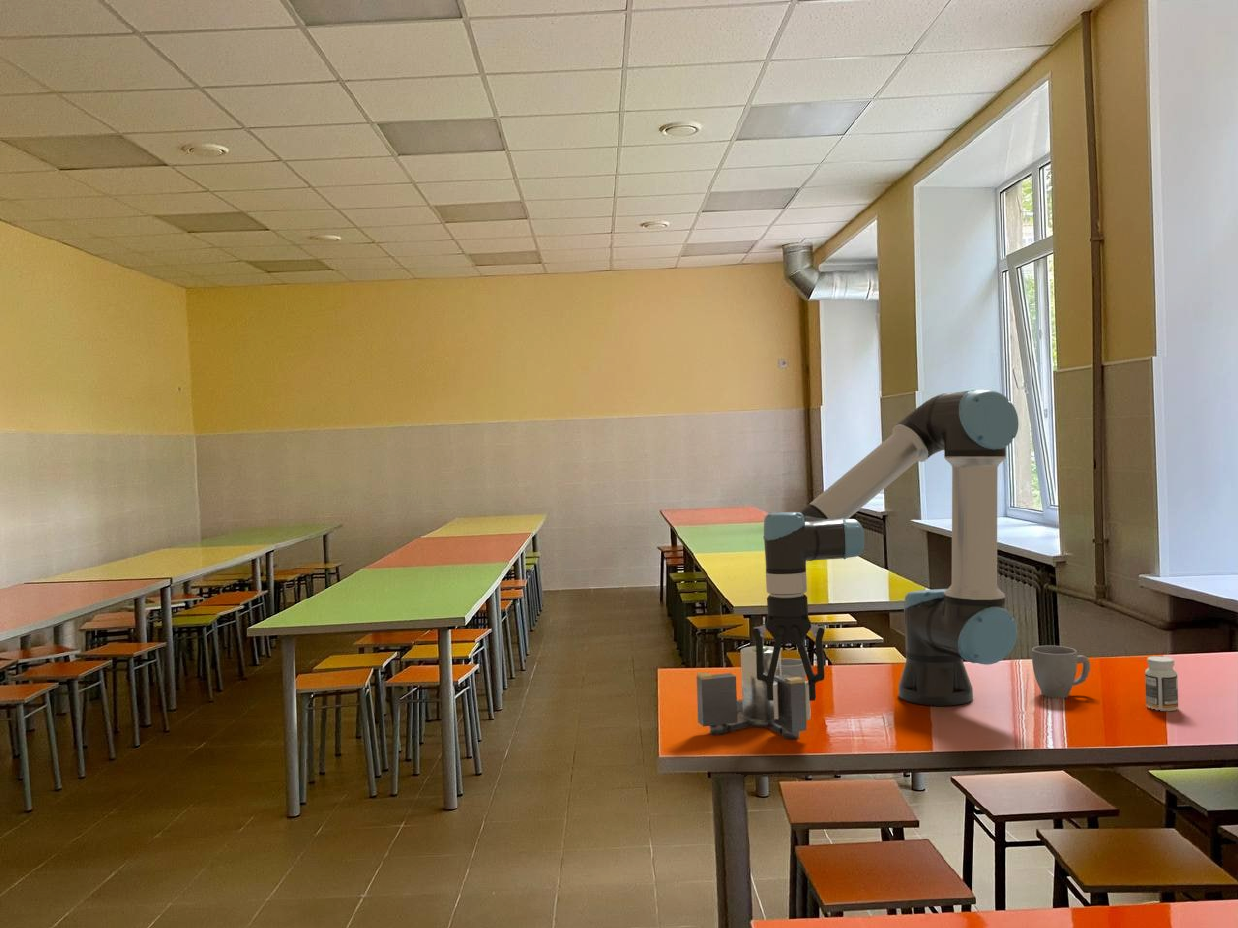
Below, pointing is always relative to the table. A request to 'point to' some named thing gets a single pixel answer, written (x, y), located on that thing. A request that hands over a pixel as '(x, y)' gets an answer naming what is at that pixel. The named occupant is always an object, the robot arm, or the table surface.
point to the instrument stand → (755, 693)
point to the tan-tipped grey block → (716, 701)
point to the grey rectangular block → (791, 705)
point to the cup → (793, 668)
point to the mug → (1058, 669)
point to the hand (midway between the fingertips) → (792, 717)
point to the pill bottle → (1161, 684)
